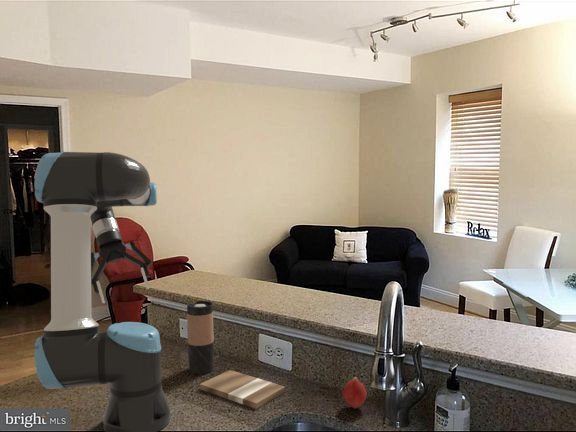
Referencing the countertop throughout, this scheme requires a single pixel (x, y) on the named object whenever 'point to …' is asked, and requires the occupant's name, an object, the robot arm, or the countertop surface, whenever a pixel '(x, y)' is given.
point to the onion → (354, 393)
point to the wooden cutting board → (243, 388)
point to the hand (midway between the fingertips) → (126, 294)
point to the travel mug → (200, 337)
